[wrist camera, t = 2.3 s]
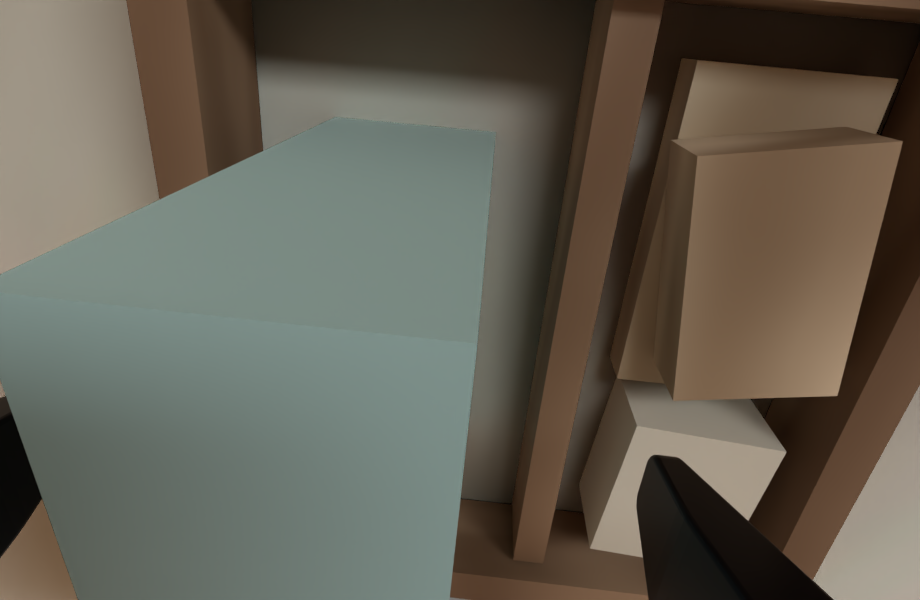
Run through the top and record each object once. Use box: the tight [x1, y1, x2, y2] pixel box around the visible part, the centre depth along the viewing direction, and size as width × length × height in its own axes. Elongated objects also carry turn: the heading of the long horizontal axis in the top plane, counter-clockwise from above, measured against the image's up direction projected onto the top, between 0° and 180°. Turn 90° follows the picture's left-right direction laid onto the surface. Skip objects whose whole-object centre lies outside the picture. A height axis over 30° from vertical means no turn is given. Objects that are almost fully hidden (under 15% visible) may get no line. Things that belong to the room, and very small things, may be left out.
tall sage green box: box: [0, 117, 496, 600], centre depth 9 cm, size 4×8×9 cm, turn 175°
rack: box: [126, 0, 920, 600], centre depth 12 cm, size 15×15×2 cm
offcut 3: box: [579, 377, 786, 558], centre depth 14 cm, size 3×4×2 cm
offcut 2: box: [654, 127, 903, 401], centre depth 11 cm, size 3×5×2 cm, turn 5°
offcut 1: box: [610, 58, 898, 384], centre depth 12 cm, size 4×7×2 cm, turn 175°
